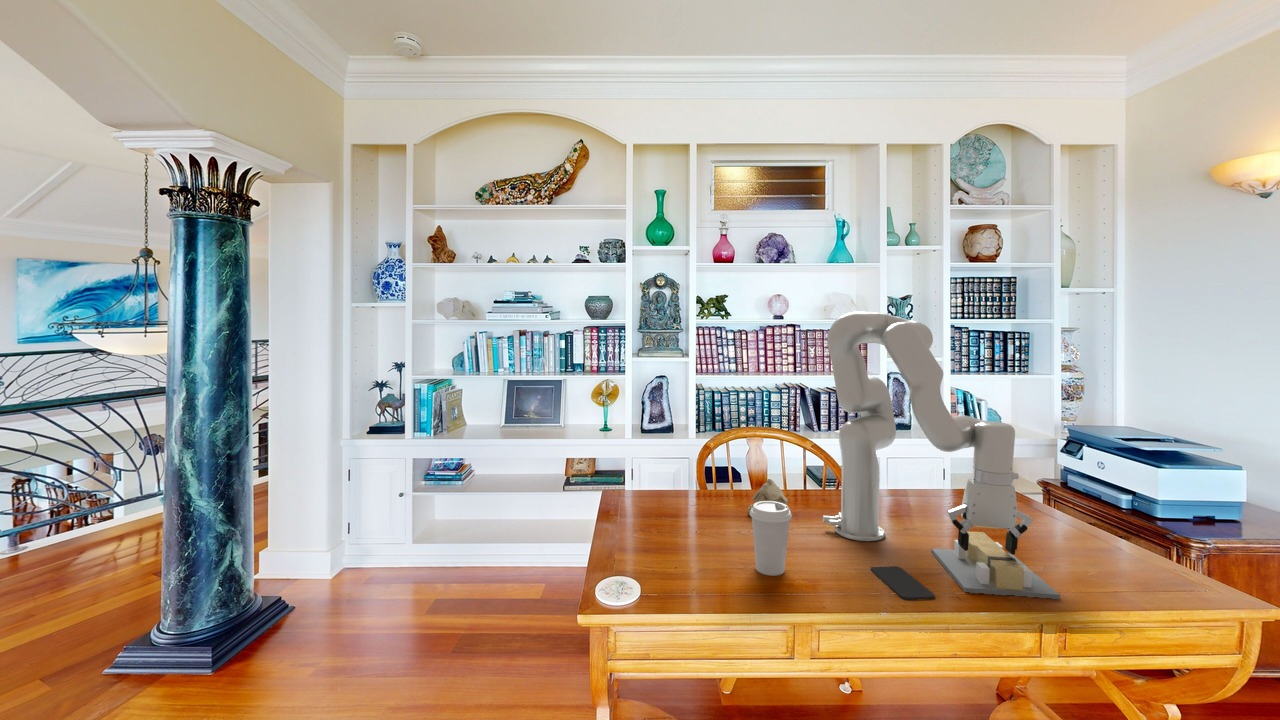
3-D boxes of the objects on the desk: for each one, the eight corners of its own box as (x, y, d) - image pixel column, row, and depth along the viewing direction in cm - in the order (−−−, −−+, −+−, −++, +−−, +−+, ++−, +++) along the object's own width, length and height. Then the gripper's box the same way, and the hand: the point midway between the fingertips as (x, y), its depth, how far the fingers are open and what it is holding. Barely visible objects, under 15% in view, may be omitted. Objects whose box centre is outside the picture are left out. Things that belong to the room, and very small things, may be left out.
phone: (899, 565, 130) (937, 596, 115) (899, 569, 130) (937, 600, 115) (868, 567, 130) (903, 597, 115) (868, 570, 130) (903, 601, 115)
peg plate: (964, 592, 118) (965, 571, 117) (931, 552, 138) (932, 534, 138) (1059, 599, 114) (1060, 578, 114) (1011, 557, 135) (1012, 539, 135)
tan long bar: (960, 550, 137) (961, 530, 136) (983, 552, 136) (984, 531, 135) (996, 588, 117) (997, 565, 117) (1023, 591, 116) (1023, 567, 116)
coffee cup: (784, 582, 123) (784, 516, 122) (743, 572, 128) (743, 508, 127) (796, 566, 131) (797, 504, 130) (757, 557, 136) (758, 497, 135)
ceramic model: (760, 502, 178) (761, 471, 178) (794, 509, 172) (795, 477, 171) (741, 514, 167) (741, 482, 166) (777, 522, 160) (777, 488, 160)
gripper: (1025, 474, 127) (1020, 546, 129) (944, 469, 130) (939, 540, 132) (1043, 484, 120) (1037, 561, 121) (956, 479, 123) (951, 553, 125)
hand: (986, 550), depth 127 cm, fingers open, 9 cm apart
